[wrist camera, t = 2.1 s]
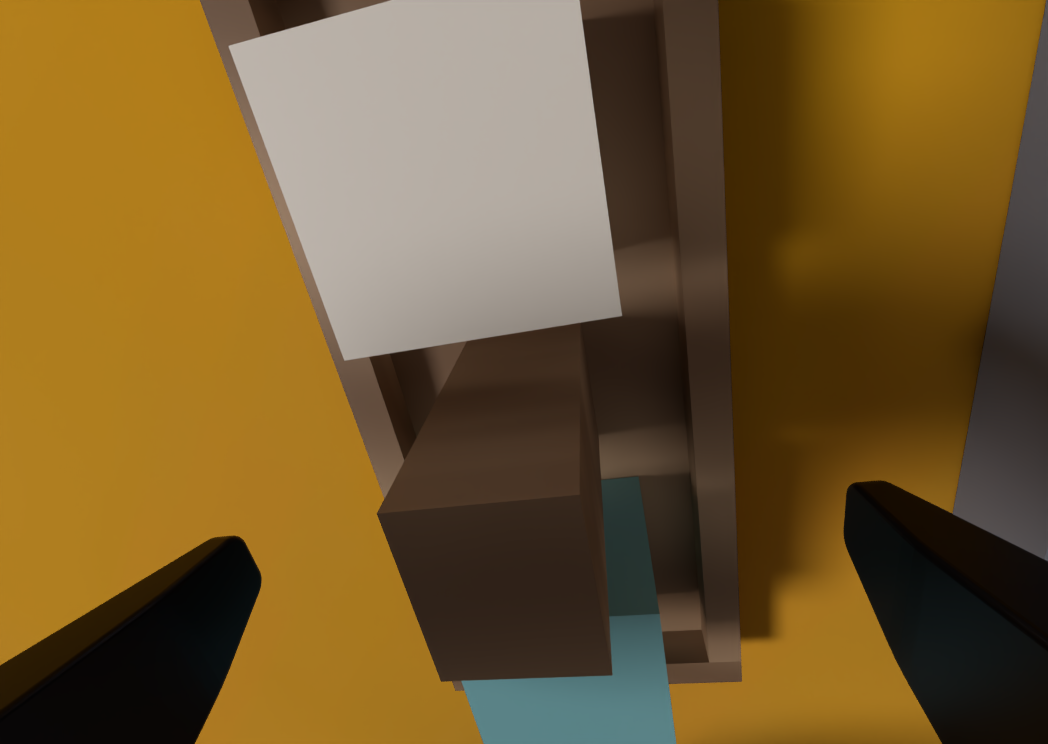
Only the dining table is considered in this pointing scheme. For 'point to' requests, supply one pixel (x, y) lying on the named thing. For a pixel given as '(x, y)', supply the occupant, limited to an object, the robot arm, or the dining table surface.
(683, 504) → the caddy
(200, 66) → the dining table surface
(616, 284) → the cream block
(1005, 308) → the tray
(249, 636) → the dining table surface
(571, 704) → the teal block
